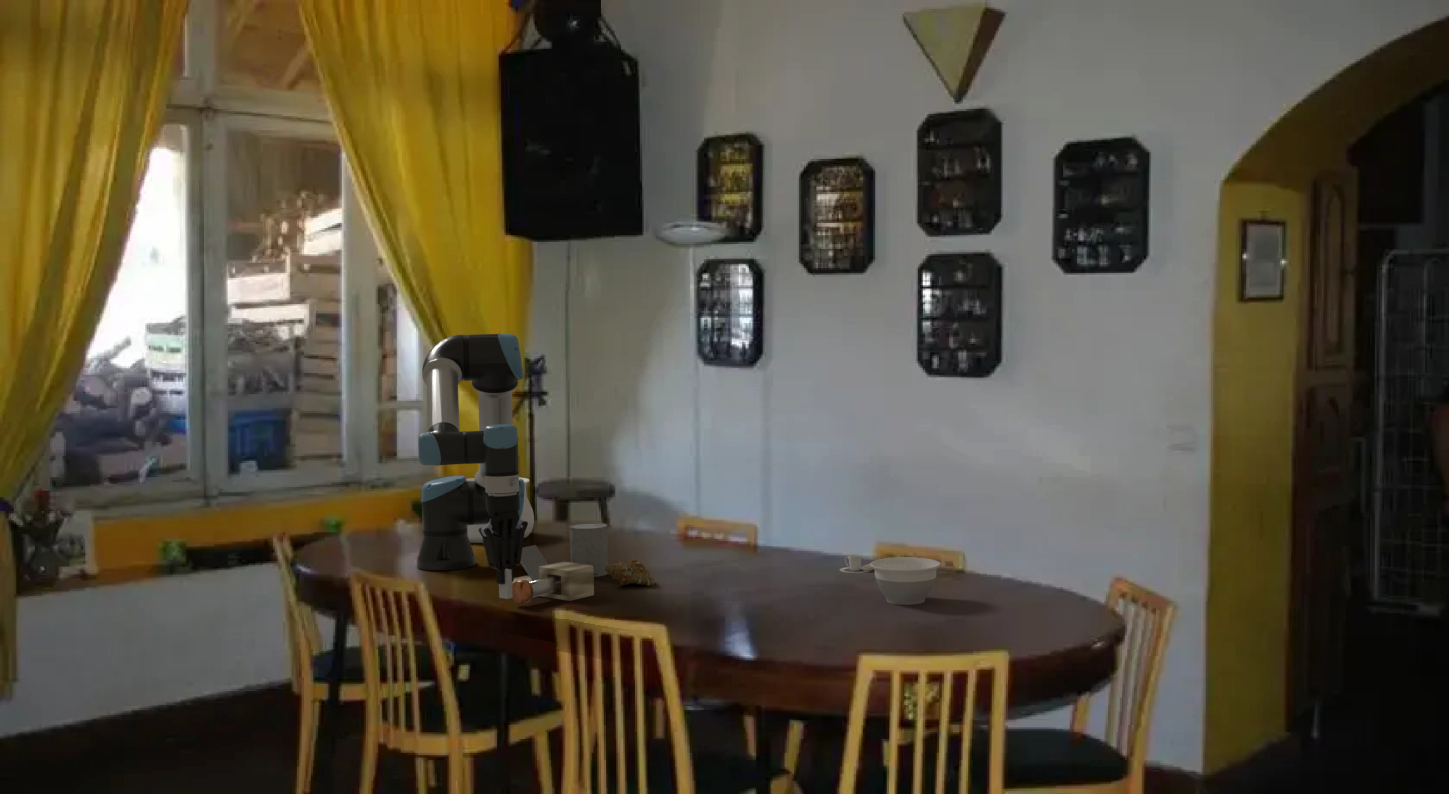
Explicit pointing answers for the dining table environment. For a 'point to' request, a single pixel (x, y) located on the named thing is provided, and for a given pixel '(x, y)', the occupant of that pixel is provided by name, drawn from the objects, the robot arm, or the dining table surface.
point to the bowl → (905, 578)
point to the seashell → (630, 573)
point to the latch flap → (532, 561)
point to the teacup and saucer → (856, 564)
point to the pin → (534, 588)
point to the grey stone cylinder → (589, 546)
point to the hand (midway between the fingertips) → (505, 597)
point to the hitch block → (567, 580)
